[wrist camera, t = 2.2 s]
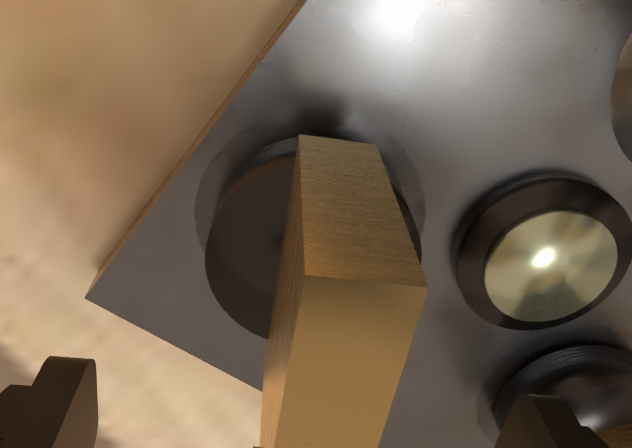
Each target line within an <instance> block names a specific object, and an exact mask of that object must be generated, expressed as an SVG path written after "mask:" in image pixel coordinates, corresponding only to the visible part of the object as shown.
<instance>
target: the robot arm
mask: <svg viewBox="0 0 632 448" xmlns="http://www.w3.org/2000/svg"><path fill="white" fill-rule="evenodd" d="M97 428H98V402H97V378H96V364H95V360H94V359H83V358H70V357H57V356H49V357H48V358H47V359H46V360H45V362H44V363H43V365H42V367H41V369H40V371H39V373H38V375H37V377H36V378H35V380H34V382H33V384H32V386H25V385H10V386H8V387H7V388H6V389H5V390H3V391H2V392H1V393H0V448H94V445H95V440H96V435H97ZM494 448H610V447H609V446H608V445H607V444H606V443H605V442H604V441H603V440H602V439H601V438H600V437H599V436H598V435H597V434H596V433H595V432H594V431H593V430H592V429H591V428H590V427H588V426H581V425H580V423H579V421H578V420H577V418H576V416H575V414H574V413H573V411H572V409H571V408H570V406H569V404H568V403H567V402H566V400H565V399H563V398H562V397H559V396H548V395H535V394H520V395H519V396H518V397H517V398H516V400H515V402H514V404H513V407H512V409H511V411H510V413H509V415H508V417H507V420H506V422H505V424H504V426H503V428H502V430H501V433H500V435H499V437H498V439H497V441H496V444H495V446H494Z"/></svg>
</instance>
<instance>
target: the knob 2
mask: <svg viewBox="0 0 632 448" xmlns="http://www.w3.org/2000/svg"><path fill="white" fill-rule="evenodd" d="M520 394H535V395H548V396H559V397H562V398H563V399H565V400H566V402H567V403H568V404H569V406H570V408H571V409H572V411H573V413H574V414H575V416H576V418H577V420H578V421H579V423H580V425H581V426H588V427H590V428H591V429H592V430H593V431H594V432H595V433H596V434H597V435H598V436H599V437H600V438H601V439H602V440H603V441H604V442H605V443H606V444H607V445H608V446H609V447H610V448H632V355H631V354H629V353H628V352H625V351H623V350H621V349H617V348H614V347H609V346H603V345H584V346H576V347H570V348H566V349H562V350H558V351H555V352H553V353H550V354H547V355H545V356H543V357H541V358H539V359H537V360H535V361H533V362H531V363H530V364H528V365H527V366H525V367H524V368H523V369H521V370H520V371H519V372H518V373H516V374H515V375H514V376H513V377H512V378H511V379H510V380H509V381H508V382H507V384H506V385H505V387H504V388H503V389H502V391H501V393H500V395H499V397H498V399H497V402H496V405H495V411H494V412H495V422H496V426H497V428H498V431H499V433H501V430H502V428H503V426H504V424H505V422H506V420H507V417H508V415H509V413H510V411H511V409H512V407H513V404H514V402H515V400H516V398H517V397H518V396H519V395H520Z"/></svg>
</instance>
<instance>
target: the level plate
mask: <svg viewBox="0 0 632 448" xmlns="http://www.w3.org/2000/svg"><path fill="white" fill-rule="evenodd" d="M299 134H301V135H309V136H327V137H332V138H337V139H342V140H345V141H353V142H360V143H367V144H375V145H377V148H378V150H379V153H380V156H381V158H382V161H383V163H384V164H385V165H386V166H387V167H388V169H389V170H390V171H391V172H392V173H393V175H394V176H395V178H396V180H397V181H398V183H399V185H400V187H401V189H402V192H403V194H404V197H405V199H406V202H407V204H408V207H409V209H410V212H411V214H412V217H413V219H414V222H415V224H416V227H417V229H418V233H419V237H420V241H421V250H422V259H421V268H422V271H423V273H424V276H425V279H426V282H427V284H428V287H429V289H428V292H427V295H426V298H425V301H424V305H423V308H422V311H421V314H420V317H419V320H418V323H417V326H416V330H415V333H414V336H413V339H412V342H411V345H410V348H409V351H408V354H407V358H406V361H405V364H404V367H403V370H402V373H401V376H400V379H399V383H398V386H397V389H396V392H395V395H394V398H393V401H392V404H391V408H390V411H389V414H388V417H387V420H386V423H385V426H384V429H383V432H382V436H381V439H380V442H379V445H378V448H494V446H495V444H496V441H497V439H498V437H499V435H500V433H499V431H498V428H497V426H496V422H495V412H494V411H495V405H496V402H497V399H498V397H499V395H500V393H501V391H502V389H503V388H504V387H505V385H506V384H507V382H508V381H509V380H510V379H511V378H512V377H513V376H514V375H515V374H516V373H518V372H519V371H520V370H521V369H523V368H524V367H525V366H527V365H528V364H530V363H531V362H533V361H535V360H537V359H539V358H541V357H543V356H545V355H547V354H550V353H553V352H555V351H558V350H562V349H566V348H570V347H576V346H584V345H603V346H609V347H614V348H617V349H621V350H623V351H625V352H628V353H629V354H631V355H632V0H299V2H298V3H297V4H296V6H295V7H294V8H293V10H292V11H291V12H290V14H289V15H288V16H287V18H286V19H285V20H284V22H283V23H282V25H281V26H280V27H279V29H278V30H277V31H276V33H275V34H274V35H273V37H272V38H271V39H270V41H269V42H268V43H267V45H266V46H265V47H264V49H263V50H262V51H261V53H260V54H259V55H258V57H257V58H256V60H255V61H254V62H253V64H252V65H251V66H250V68H249V69H248V70H247V72H246V73H245V74H244V76H243V77H242V78H241V80H240V81H239V82H238V84H237V85H236V86H235V88H234V89H233V90H232V92H231V93H230V94H229V96H228V97H227V99H226V100H225V101H224V103H223V104H222V105H221V107H220V108H219V109H218V111H217V112H216V113H215V115H214V116H213V117H212V119H211V120H210V121H209V123H208V124H207V125H206V127H205V128H204V129H203V131H202V132H201V134H200V135H199V136H198V138H197V139H196V140H195V142H194V143H193V144H192V146H191V147H190V148H189V150H188V151H187V152H186V154H185V155H184V156H183V158H182V159H181V160H180V162H179V163H178V164H177V166H176V167H175V169H174V170H173V171H172V173H171V174H170V175H169V177H168V178H167V179H166V181H165V182H164V183H163V185H162V186H161V187H160V189H159V190H158V191H157V193H156V194H155V195H154V197H153V198H152V199H151V201H150V202H149V204H148V205H147V206H146V208H145V209H144V210H143V212H142V213H141V214H140V216H139V217H138V218H137V220H136V221H135V222H134V224H133V225H132V226H131V228H130V229H129V230H128V232H127V233H126V234H125V236H124V237H123V238H122V240H121V241H120V243H119V244H118V245H117V247H116V248H115V249H114V251H113V252H112V253H111V255H110V256H109V257H108V259H107V260H106V261H105V263H104V264H103V265H102V267H101V268H100V269H99V271H98V273H97V275H96V277H95V278H94V280H93V282H92V284H91V286H90V288H89V290H88V292H87V294H86V296H85V299H87V300H89V301H91V302H93V303H94V304H96V305H98V306H100V307H102V308H104V309H106V310H108V311H110V312H112V313H113V314H115V315H117V316H119V317H121V318H123V319H125V320H127V321H129V322H131V323H132V324H134V325H136V326H138V327H140V328H142V329H144V330H146V331H148V332H150V333H151V334H153V335H155V336H157V337H159V338H161V339H163V340H165V341H167V342H169V343H170V344H172V345H174V346H176V347H178V348H180V349H182V350H184V351H186V352H188V353H189V354H191V355H193V356H195V357H197V358H199V359H201V360H203V361H205V362H207V363H208V364H210V365H212V366H214V367H216V368H218V369H220V370H222V371H224V372H225V373H227V374H229V375H231V376H233V377H235V378H237V379H239V380H241V381H243V382H244V383H246V384H248V385H250V386H252V387H254V388H256V389H258V390H260V391H262V392H263V376H264V361H265V354H266V347H267V341H268V340H267V339H264V338H261V337H259V336H257V335H255V334H253V333H251V332H250V331H248V330H246V329H245V328H243V327H242V326H240V325H239V324H238V323H237V322H236V321H234V320H233V319H232V318H231V317H230V316H229V315H228V314H227V313H226V312H225V311H224V310H223V308H222V307H221V306H220V304H219V303H218V301H217V300H216V298H215V296H214V294H213V292H212V290H211V288H210V285H209V282H208V279H207V275H206V269H205V250H206V243H207V239H208V235H209V230H210V226H211V222H212V218H213V214H214V210H215V206H216V202H217V199H218V196H219V193H220V191H221V189H222V187H223V185H224V183H225V181H226V180H227V178H228V177H229V176H230V174H231V173H232V172H233V170H234V169H235V168H236V167H237V166H238V165H239V164H240V163H241V162H242V161H244V160H245V159H246V158H247V157H248V156H250V155H251V154H253V153H254V152H256V151H258V150H259V149H261V148H263V147H265V146H267V145H269V144H272V143H274V142H277V141H280V140H284V139H287V138H293V137H299Z"/></svg>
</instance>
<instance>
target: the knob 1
mask: <svg viewBox="0 0 632 448" xmlns="http://www.w3.org/2000/svg"><path fill="white" fill-rule="evenodd" d="M421 259H422V250H421V241H420V237H419V233H418V229H417V227H416V224H415V222H414V219H413V217H412V214H411V212H410V209H409V207H408V204H407V202H406V199H405V197H404V194H403V192H402V189H401V187H400V185H399V183H398V181H397V180H396V178H395V176H394V175H393V173H392V172H391V171H390V170H389V169H388V167H387V166H386V165H385V164H384V163H383V161H382V158H381V156H380V153H379V150H378V148H377V145H375V144H367V143H360V142H353V141H345V140H342V139H337V138H332V137H327V136H309V135H301V134H299V137H293V138H287V139H284V140H280V141H277V142H274V143H272V144H269V145H267V146H265V147H263V148H261V149H259V150H258V151H256V152H254V153H253V154H251V155H250V156H248V157H247V158H246V159H245V160H244V161H242V162H241V163H240V164H239V165H238V166H237V167H236V168H235V169H234V170H233V172H232V173H231V174H230V176H229V177H228V178H227V180H226V181H225V183H224V185H223V187H222V189H221V191H220V193H219V196H218V199H217V202H216V206H215V210H214V214H213V218H212V222H211V226H210V230H209V235H208V239H207V243H206V250H205V269H206V275H207V279H208V282H209V285H210V288H211V290H212V292H213V294H214V296H215V298H216V300H217V301H218V303H219V304H220V306H221V307H222V308H223V310H224V311H225V312H226V313H227V314H228V315H229V316H230V317H231V318H232V319H233V320H234V321H236V322H237V323H238V324H239V325H240V326H242V327H243V328H245V329H246V330H248V331H250V332H251V333H253V334H255V335H257V336H259V337H261V338H264V339H267V340H268V341H267V347H266V354H265V361H264V376H263V394H262V413H261V431H260V447H255V446H253V448H378V445H379V442H380V439H381V436H382V432H383V429H384V426H385V423H386V420H387V417H388V414H389V411H390V408H391V404H392V401H393V398H394V395H395V392H396V389H397V386H398V383H399V379H400V376H401V373H402V370H403V367H404V364H405V361H406V358H407V354H408V351H409V348H410V345H411V342H412V339H413V336H414V333H415V330H416V326H417V323H418V320H419V317H420V314H421V311H422V308H423V305H424V301H425V298H426V295H427V292H428V289H429V287H428V284H427V282H426V279H425V276H424V273H423V271H422V268H421Z"/></svg>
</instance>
